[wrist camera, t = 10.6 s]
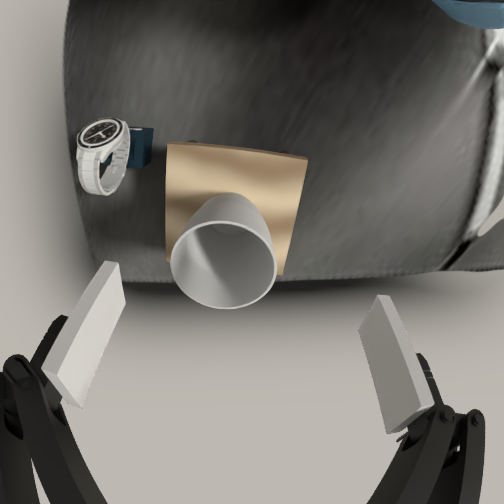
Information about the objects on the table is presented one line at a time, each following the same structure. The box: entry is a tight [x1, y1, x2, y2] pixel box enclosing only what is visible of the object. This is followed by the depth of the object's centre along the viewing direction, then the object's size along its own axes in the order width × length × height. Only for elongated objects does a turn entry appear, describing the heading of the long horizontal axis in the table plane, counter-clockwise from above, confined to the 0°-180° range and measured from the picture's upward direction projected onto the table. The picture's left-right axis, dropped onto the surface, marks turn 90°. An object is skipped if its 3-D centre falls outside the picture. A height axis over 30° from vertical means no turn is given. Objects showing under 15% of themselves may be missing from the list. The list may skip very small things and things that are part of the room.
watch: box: [76, 118, 154, 195], centre depth 26 cm, size 6×8×11 cm
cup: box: [170, 192, 277, 309], centre depth 25 cm, size 8×8×10 cm
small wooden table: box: [165, 141, 308, 275], centre depth 32 cm, size 14×14×6 cm
